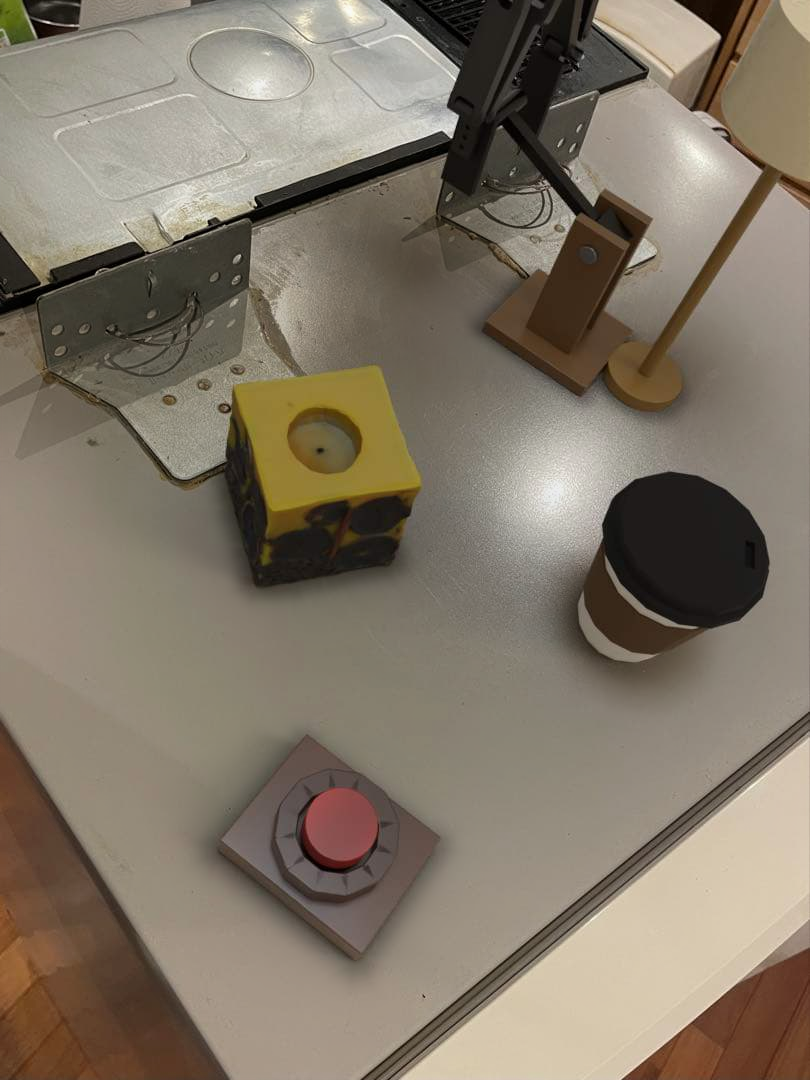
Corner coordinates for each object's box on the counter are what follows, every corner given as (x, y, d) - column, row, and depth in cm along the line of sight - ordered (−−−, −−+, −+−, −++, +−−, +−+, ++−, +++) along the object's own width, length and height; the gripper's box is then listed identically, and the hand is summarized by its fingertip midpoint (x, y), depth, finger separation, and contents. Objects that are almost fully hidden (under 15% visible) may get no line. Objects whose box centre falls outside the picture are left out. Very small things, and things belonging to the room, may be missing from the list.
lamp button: (286, 838, 54) (290, 829, 53) (330, 782, 57) (334, 772, 55) (344, 884, 54) (349, 876, 52) (385, 826, 56) (392, 817, 55)
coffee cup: (693, 582, 74) (778, 494, 64) (685, 714, 68) (777, 639, 58) (556, 539, 73) (620, 443, 63) (535, 668, 67) (602, 585, 57)
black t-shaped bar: (470, 127, 73) (488, 107, 71) (504, 100, 76) (522, 80, 74) (592, 274, 75) (612, 258, 73) (620, 243, 78) (642, 227, 76)
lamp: (555, 380, 82) (750, 10, 55) (614, 312, 88) (816, -53, 61) (667, 455, 80) (924, 111, 54) (719, 381, 86) (975, 37, 59)
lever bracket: (481, 330, 83) (530, 210, 72) (533, 277, 88) (586, 157, 77) (580, 397, 81) (644, 284, 71) (628, 339, 86) (695, 225, 76)
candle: (355, 449, 74) (381, 360, 65) (397, 565, 69) (430, 485, 61) (220, 468, 70) (229, 377, 62) (254, 591, 66) (269, 511, 57)
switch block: (216, 849, 57) (221, 831, 53) (302, 745, 61) (310, 722, 58) (355, 961, 55) (368, 949, 52) (432, 846, 60) (449, 829, 56)
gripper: (566, -76, 52) (455, 250, 70) (726, -179, 63) (594, 124, 82) (449, -144, 53) (371, 195, 71) (628, -234, 64) (520, 78, 83)
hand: (490, 157), depth 77 cm, fingers open, 9 cm apart
